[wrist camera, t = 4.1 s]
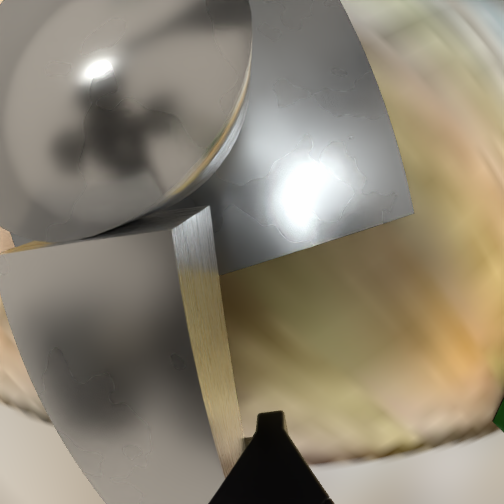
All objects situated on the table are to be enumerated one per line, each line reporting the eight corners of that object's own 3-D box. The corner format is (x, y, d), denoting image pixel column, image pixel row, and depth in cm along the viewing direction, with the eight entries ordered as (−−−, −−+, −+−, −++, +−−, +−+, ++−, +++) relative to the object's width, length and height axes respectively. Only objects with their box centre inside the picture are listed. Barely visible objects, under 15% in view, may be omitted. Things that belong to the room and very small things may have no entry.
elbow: (57, 49, 8) (-37, -4, 2) (238, 4, 8) (234, -112, 2) (133, 448, 11) (101, 540, 6) (281, 446, 11) (295, 552, 6)
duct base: (307, -36, 9) (339, -132, 3) (402, 210, 12) (516, 240, 5) (-7, 94, 10) (-98, 75, 4) (53, 319, 13) (-30, 391, 6)
